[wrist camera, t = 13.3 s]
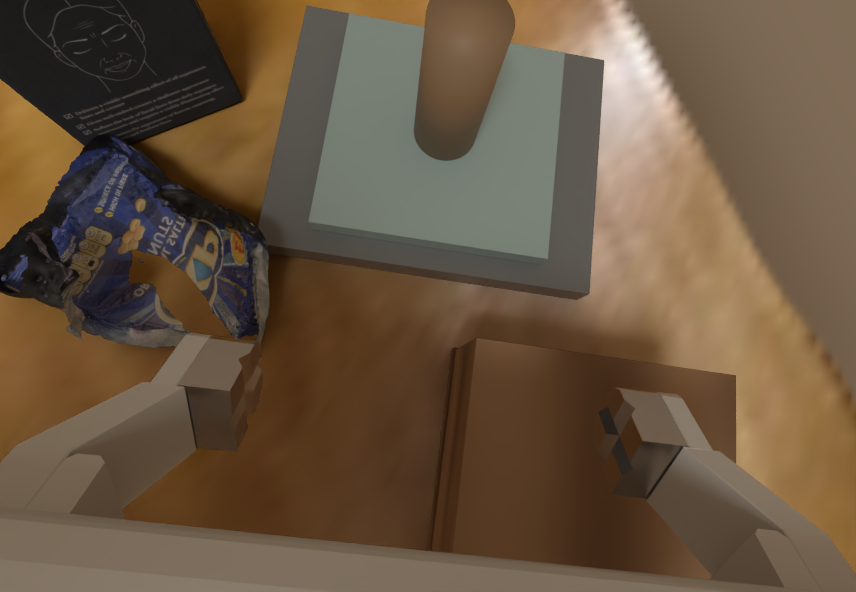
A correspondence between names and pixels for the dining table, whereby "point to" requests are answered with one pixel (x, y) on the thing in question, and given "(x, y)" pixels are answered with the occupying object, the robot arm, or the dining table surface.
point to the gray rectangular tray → (295, 237)
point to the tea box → (557, 459)
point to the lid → (443, 134)
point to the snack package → (135, 230)
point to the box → (114, 64)
